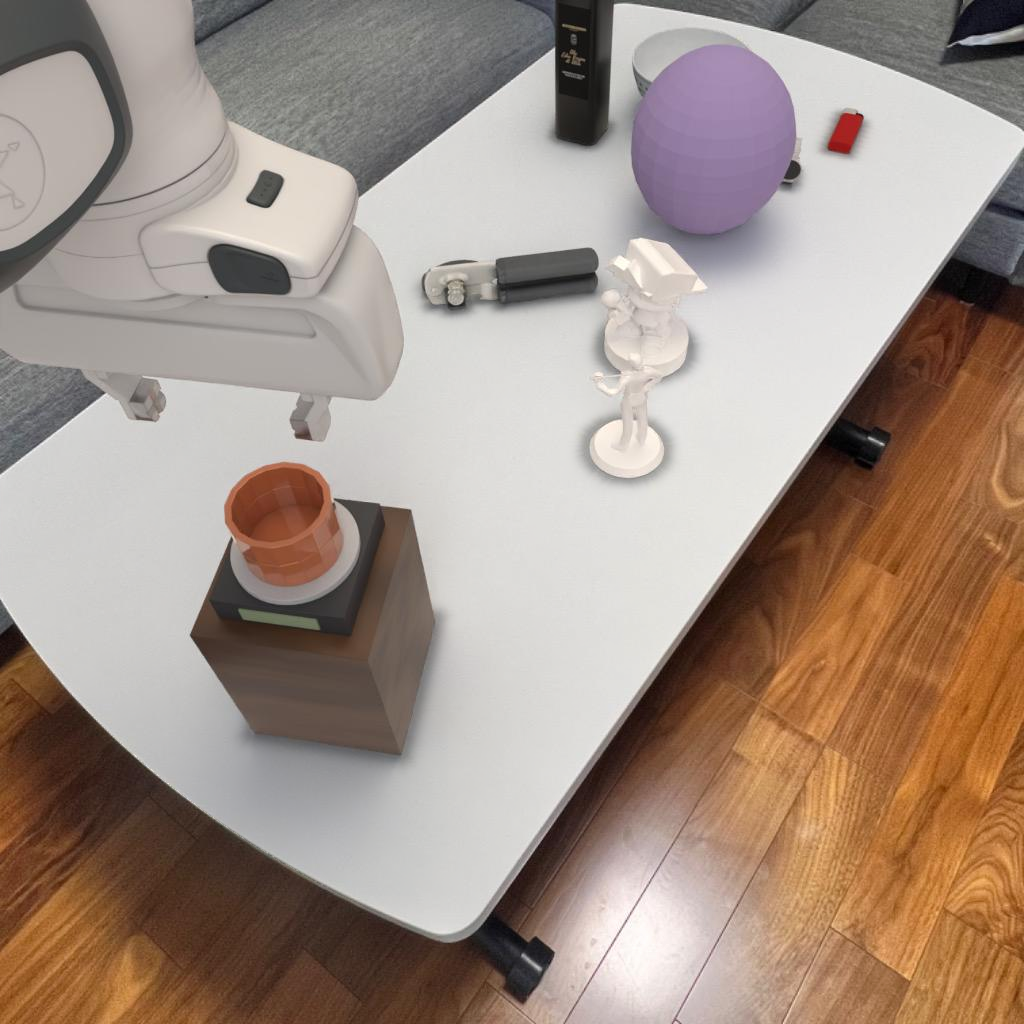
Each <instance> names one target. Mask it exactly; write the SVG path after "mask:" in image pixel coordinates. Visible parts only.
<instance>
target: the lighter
mask: <svg viewBox="0 0 1024 1024" xmlns="http://www.w3.org/2000/svg"><path fill="white" fill-rule="evenodd" d="M864 118H865V116H864V115H863V114H862V113H859V110H858V109H857V108H852V107H846V108H843V111H842V112H841V115H840V116H839V119H838V122H837V123H836V126H835V128H834V130H833V132H832V134H831V136H830V139H829V141H828V144H827V149H828V150H830V151H833V152H837V153H842V154H848V153H850V152H851V150H852V147H853V145H854V143H855V140H856V138H857V136H858V133H859V131H860V129H861V127H862V124H863V122H864V120H865V119H864Z"/></svg>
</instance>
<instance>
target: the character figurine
mask: <svg viewBox="0 0 1024 1024" xmlns="http://www.w3.org/2000/svg"><path fill="white" fill-rule="evenodd" d="M624 256H625V257H623V256H622V255H621V254H619V255H616V256H615V257H613V258H612V259H610V260H609V261H608V262H607V264H606V265H605V267H604V270H606V271H609V272H611V273H612V274H611V276H610V277H611V278H614V279H616V280H618V281H620V282H622V283H624V284H626V285H627V288H626V295H625V294H623V295H622V294H621V291H620V290H619V289H617V288H609V289H607V290H605V291H604V293H603V294H602V296H601V299H600V300H601V301H600V303H601V304H602V306H603V307H605V308H608V309H607V312H606V316H607V317H608V318H609V320H608V322H607V324H606V325H605V330H604V341H603V342H604V343H603V351H604V354H605V357H606V359H607V360H608V363H610V364H611V366H612V367H614V368H615V369H616V370H617V371H619V372H624V371H626V370H627V369H628V367H629V364H628V358H629V354H630V353H632V352H634V353H638V354H639V355H640V356H641V357H642V359H643V362H644V366H648V367H651V368H653V369H655V370H658V371H660V372H661V373H662V374H663V378H665V377H668V376H670V375H672V374H673V373H675V372H677V371H678V370H679V369H680V368H681V367H682V366H683V365H684V363H685V362H686V359H687V354H688V346H689V341H690V334H689V331H688V328H687V326H686V325H685V323H684V321H683V320H681V318H679V317H678V316H677V315H676V314H675V313H673V312H671V311H669V310H670V309H671V308H673V307H674V308H676V309H679V308H680V304H681V302H680V301H681V297H684V296H690V295H697V294H703V293H707V291H708V286H707V285H706V284H705V283H704V282H703V280H702V279H701V278H700V277H699V275H698V274H697V273H696V272H695V271H694V269H693V268H692V267H691V266H690V265H689V264H688V263H687V262H686V261H685V260H684V259H683V257H681V255H679V254H678V252H676V250H675V249H674V248H673V247H672V246H671V245H670V244H668V243H666V242H662V241H659V240H653V239H649V238H645V237H638V238H634V239H630V240H629V241H628V246H627V249H626V253H625V255H624ZM630 368H631V369H632V367H630ZM652 379H653V377H650V378H649V379H648V380H652Z"/></svg>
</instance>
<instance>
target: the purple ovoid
mask: <svg viewBox="0 0 1024 1024" xmlns="http://www.w3.org/2000/svg"><path fill="white" fill-rule="evenodd" d="M796 138H798V136H797V123H796V113H795V107H794V103H793V100H792V96H791V93H790V91H789V90H788V88H787V86H786V84H785V82H784V80H783V79H782V78H781V76H780V75H779V73H777V71H776V70H775V68H774V67H773V66H772V65H771V64H770V63H769V61H767V60H765V59H764V58H762V57H761V56H760V55H758V54H757V53H755V52H753V50H752V51H750V50H748V49H745V48H742V47H739V46H734V45H726V44H715V45H708V46H703V47H700V48H698V49H695V50H692V51H690V52H688V53H686V54H684V55H682V56H681V57H679V58H678V59H676V60H675V61H674V62H672V63H671V64H670V65H668V66H667V67H666V68H665V69H663V70H662V72H661V73H660V74H659V75H658V76H657V77H656V78H655V79H654V81H653V82H652V84H651V85H650V87H649V88H648V90H647V92H646V93H645V95H644V97H642V99H641V100H640V103H639V104H638V106H637V109H636V113H635V116H634V119H633V123H632V131H631V142H630V158H631V168H632V173H633V176H634V181H635V183H636V184H637V187H638V189H639V191H640V193H641V195H642V198H643V200H644V202H645V203H646V205H647V206H648V208H649V209H650V210H651V211H652V212H653V213H654V214H655V215H656V216H658V217H659V218H660V220H662V222H664V223H665V224H667V225H669V226H671V227H672V228H676V229H677V230H680V231H682V232H685V233H689V234H694V235H715V234H719V233H720V234H721V233H725V232H727V231H729V230H732V229H734V228H737V227H738V226H741V225H743V224H744V223H746V222H747V221H749V220H750V219H751V218H752V217H754V216H755V215H756V214H757V213H758V212H759V211H761V210H762V209H763V208H764V207H765V206H766V205H767V204H768V203H769V201H770V200H771V199H772V198H773V197H774V196H775V194H776V193H777V190H778V189H779V187H780V185H781V184H782V183H783V181H782V180H783V178H784V176H785V174H786V172H787V169H788V167H789V165H790V162H791V159H792V157H793V154H794V150H795V143H796Z"/></svg>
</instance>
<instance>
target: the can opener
mask: <svg viewBox="0 0 1024 1024" xmlns="http://www.w3.org/2000/svg"><path fill="white" fill-rule="evenodd" d="M599 261H600V260H599V256H598V254H597V252H596V250H595V249H593V248H592V247H580V248H573V249H564V250H555V251H546V252H538V253H529V254H521V255H513V256H504V257H499V258H496V259H495V263H493V262H492V260H482V261H478V260H474V259H455V260H449V261H446V262H444V263H443V262H442V263H441V264H439V265H438V264H437V265H436V266H432V267H429V268H428V269H427V271H426V272H425V273H424V274H423V275H422V277H421V288H422V291H423V293H425V295H426V296H427V298H428V299H429V301H430V302H431V303H432V304H433V305H437V306H438V305H447V309H449V310H451V311H452V310H458V309H459V310H460V309H465V308H467V302H468V301H469V298H471V297H472V296H473V295H481V296H480V297H479V300H481V301H482V300H484V301H485V300H487V301H494V300H495V301H496V300H499V302H500V303H501V304H509V303H514V302H516V303H517V302H522V301H523V302H524V301H530V300H537V299H544V298H551V297H558V296H559V297H560V296H567V295H573V294H580V293H589V292H593V291H594V290H596V289H597V287H598V283H599V277H598V275H597V272H596V271H597V270H598V268H599V265H600V262H599ZM494 280H496V283H493V281H494Z"/></svg>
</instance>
